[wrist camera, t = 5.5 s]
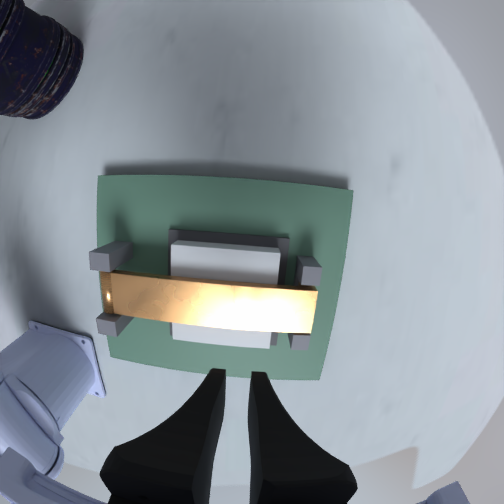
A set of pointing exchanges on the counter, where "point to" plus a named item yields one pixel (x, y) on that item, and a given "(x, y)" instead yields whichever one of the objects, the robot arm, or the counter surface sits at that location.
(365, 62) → the counter surface
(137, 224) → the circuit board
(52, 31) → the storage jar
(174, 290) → the hold-down strap
